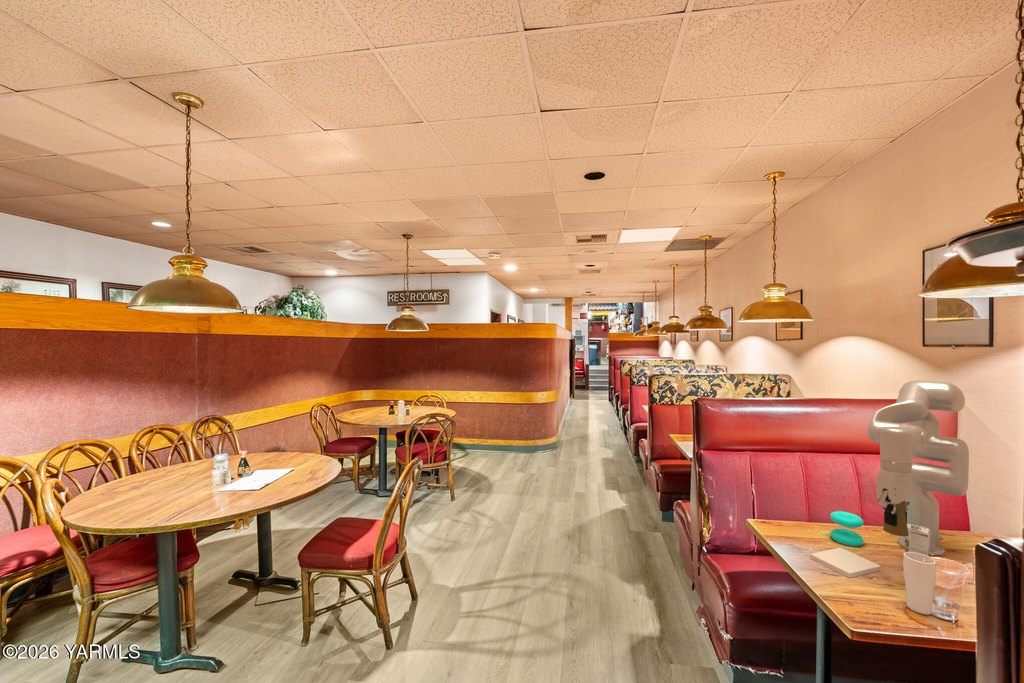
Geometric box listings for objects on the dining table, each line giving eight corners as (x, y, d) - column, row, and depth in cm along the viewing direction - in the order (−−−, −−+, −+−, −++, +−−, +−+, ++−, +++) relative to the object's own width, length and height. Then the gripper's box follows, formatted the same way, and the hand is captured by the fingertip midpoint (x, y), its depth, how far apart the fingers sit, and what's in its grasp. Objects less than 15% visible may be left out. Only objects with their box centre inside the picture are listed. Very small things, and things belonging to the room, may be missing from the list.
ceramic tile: (840, 551, 153) (840, 547, 153) (880, 570, 140) (880, 565, 140) (810, 558, 148) (810, 553, 148) (849, 578, 136) (849, 573, 136)
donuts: (854, 511, 165) (869, 522, 155) (854, 536, 165) (869, 549, 155) (825, 508, 167) (838, 519, 157) (825, 534, 167) (838, 545, 157)
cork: (913, 537, 129) (914, 501, 129) (891, 535, 131) (891, 500, 131) (899, 528, 135) (899, 494, 135) (878, 526, 137) (878, 493, 136)
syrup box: (905, 564, 144) (905, 522, 144) (929, 571, 140) (929, 528, 140) (904, 570, 140) (904, 527, 140) (929, 578, 136) (929, 533, 136)
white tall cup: (896, 602, 123) (896, 551, 123) (917, 601, 123) (917, 551, 123) (920, 618, 116) (921, 564, 116) (943, 616, 117) (943, 563, 117)
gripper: (898, 460, 139) (898, 515, 139) (864, 465, 134) (864, 522, 134) (927, 467, 132) (927, 524, 132) (892, 472, 127) (892, 532, 127)
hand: (895, 523), depth 133 cm, fingers closed on cork, 4 cm apart
